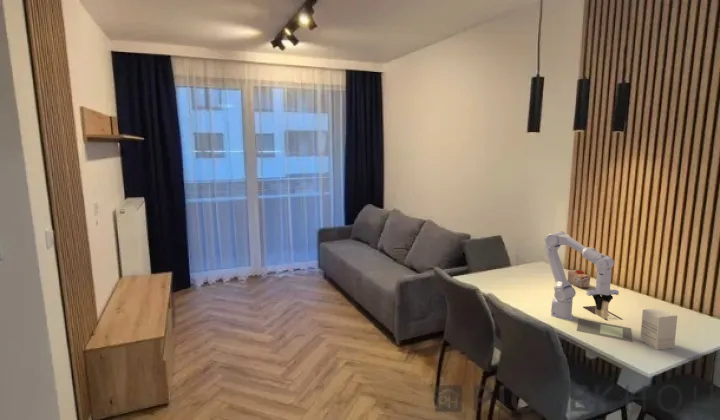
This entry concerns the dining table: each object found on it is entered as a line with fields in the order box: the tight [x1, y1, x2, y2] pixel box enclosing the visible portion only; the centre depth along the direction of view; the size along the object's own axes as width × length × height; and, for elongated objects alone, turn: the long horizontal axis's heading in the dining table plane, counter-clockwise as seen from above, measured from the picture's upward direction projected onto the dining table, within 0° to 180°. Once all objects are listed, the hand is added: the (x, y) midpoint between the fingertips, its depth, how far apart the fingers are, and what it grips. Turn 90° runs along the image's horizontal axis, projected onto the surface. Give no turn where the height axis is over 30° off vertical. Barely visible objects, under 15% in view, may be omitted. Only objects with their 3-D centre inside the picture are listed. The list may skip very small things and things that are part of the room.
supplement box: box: [639, 307, 678, 351], centre depth 175 cm, size 9×9×15 cm
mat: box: [576, 318, 633, 343], centre depth 190 cm, size 22×16×1 cm
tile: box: [594, 299, 610, 320], centre depth 190 cm, size 6×2×8 cm, turn 3°
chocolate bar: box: [582, 305, 624, 321], centre depth 209 cm, size 9×1×18 cm
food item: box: [567, 269, 591, 289], centre depth 251 cm, size 14×8×10 cm, turn 11°
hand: (601, 309), depth 190 cm, fingers closed on tile, 2 cm apart
